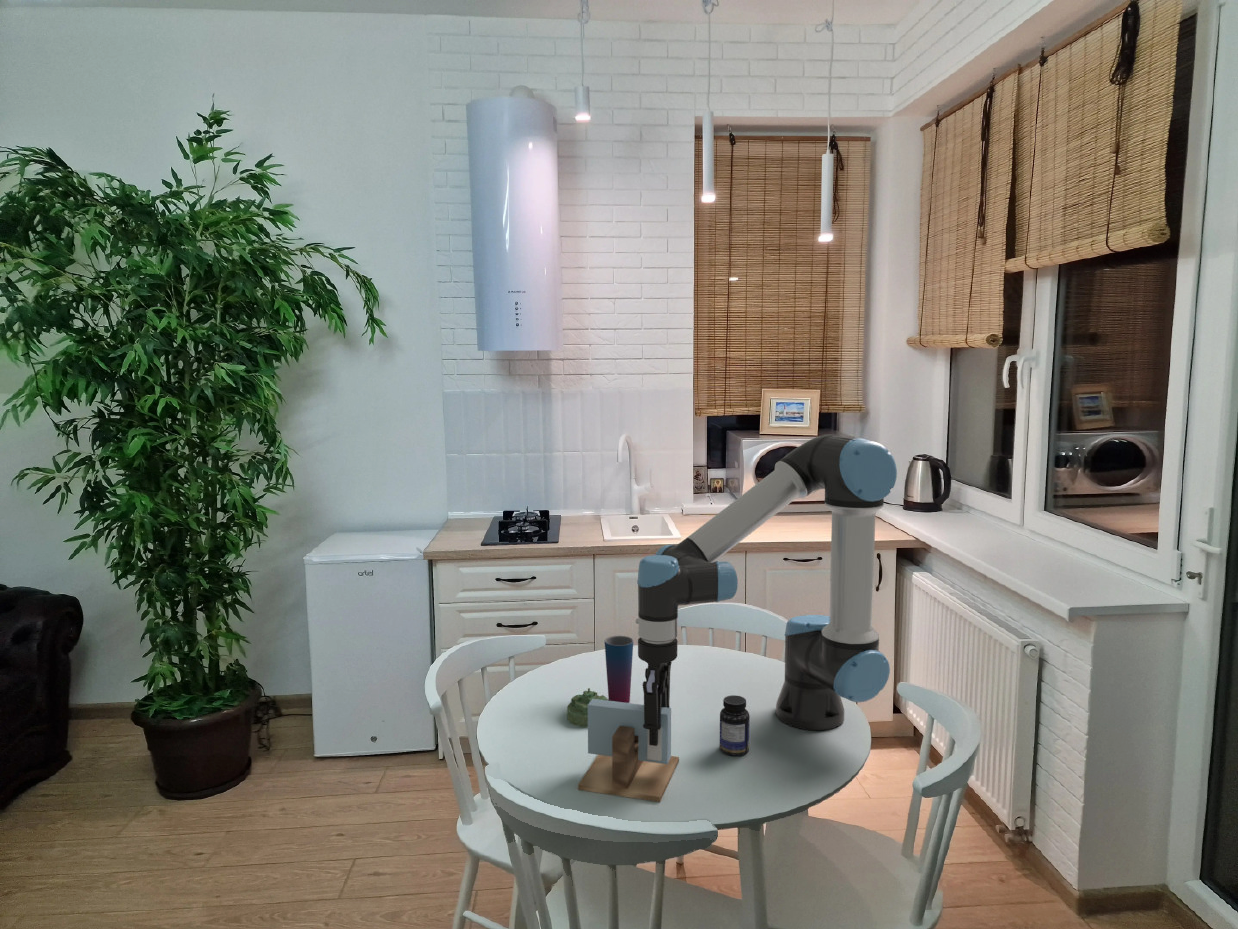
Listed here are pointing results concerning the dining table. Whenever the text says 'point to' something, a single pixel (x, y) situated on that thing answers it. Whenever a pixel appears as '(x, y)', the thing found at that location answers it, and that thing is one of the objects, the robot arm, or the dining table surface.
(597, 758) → the jig
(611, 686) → the cup
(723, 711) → the pill bottle
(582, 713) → the decorative artifact
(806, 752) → the dining table surface
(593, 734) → the slotted plate
